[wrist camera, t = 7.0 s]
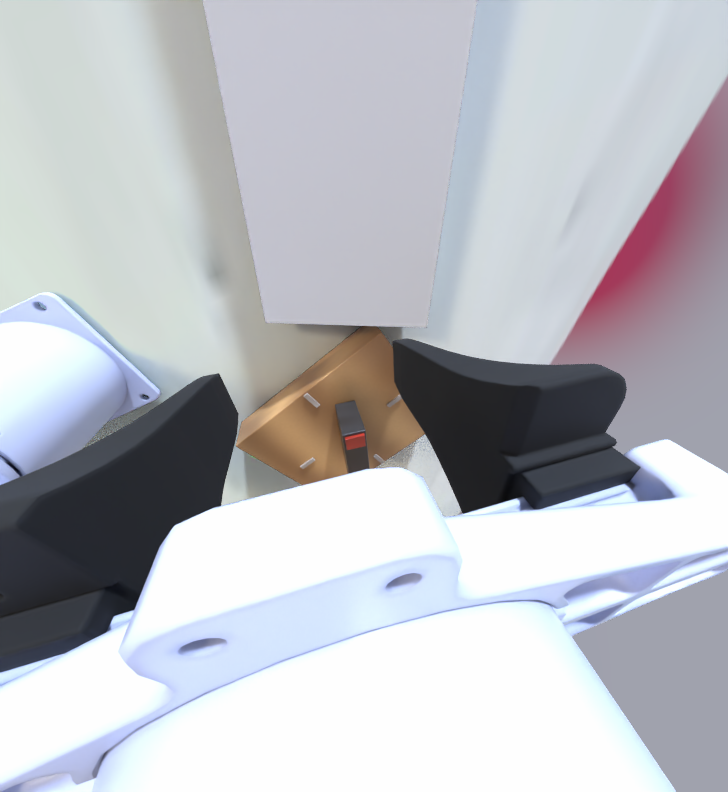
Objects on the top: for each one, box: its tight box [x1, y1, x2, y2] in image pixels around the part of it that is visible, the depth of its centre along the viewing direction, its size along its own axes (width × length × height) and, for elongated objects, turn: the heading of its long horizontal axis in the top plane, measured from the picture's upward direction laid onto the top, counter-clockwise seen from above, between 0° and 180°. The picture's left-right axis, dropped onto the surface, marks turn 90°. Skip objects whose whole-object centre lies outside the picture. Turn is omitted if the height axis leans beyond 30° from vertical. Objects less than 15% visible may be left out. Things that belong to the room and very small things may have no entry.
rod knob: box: [335, 401, 370, 474], centre depth 20 cm, size 6×2×4 cm, turn 5°
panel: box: [236, 326, 425, 485], centre depth 23 cm, size 14×11×3 cm
